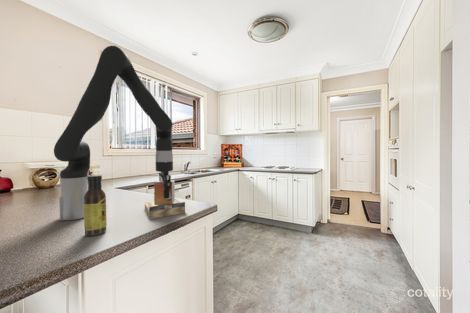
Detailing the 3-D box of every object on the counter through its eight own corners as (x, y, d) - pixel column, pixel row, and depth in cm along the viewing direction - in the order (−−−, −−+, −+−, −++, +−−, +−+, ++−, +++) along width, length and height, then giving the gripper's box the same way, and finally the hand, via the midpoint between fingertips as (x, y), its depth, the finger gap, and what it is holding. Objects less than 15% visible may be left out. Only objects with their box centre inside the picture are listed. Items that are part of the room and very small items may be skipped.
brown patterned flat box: (149, 218, 83) (149, 207, 83) (144, 209, 97) (144, 199, 97) (185, 212, 91) (185, 202, 91) (176, 204, 105) (175, 195, 105)
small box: (154, 205, 89) (153, 182, 89) (157, 202, 95) (157, 180, 94) (172, 205, 90) (172, 181, 90) (175, 201, 95) (174, 180, 95)
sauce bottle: (106, 234, 68) (105, 175, 67) (83, 238, 65) (82, 177, 64) (106, 228, 73) (105, 174, 73) (85, 231, 70) (83, 175, 69)
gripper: (153, 160, 96) (153, 194, 96) (158, 161, 84) (159, 200, 84) (169, 159, 100) (169, 192, 100) (176, 161, 87) (177, 198, 88)
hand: (164, 196), depth 92 cm, fingers closed on small box, 7 cm apart
